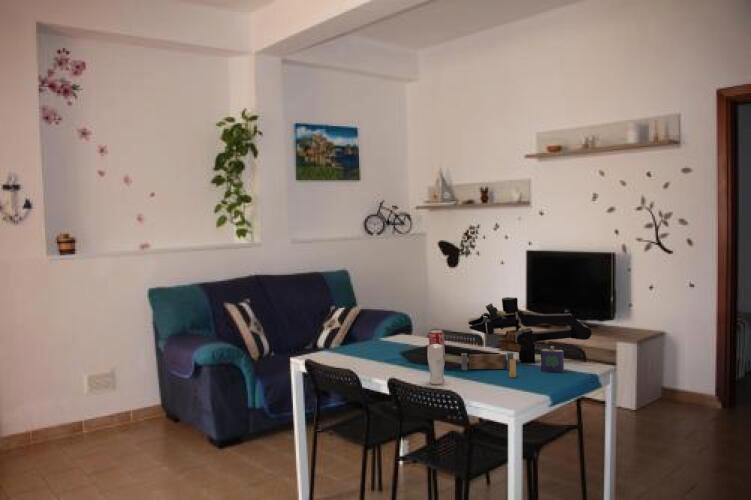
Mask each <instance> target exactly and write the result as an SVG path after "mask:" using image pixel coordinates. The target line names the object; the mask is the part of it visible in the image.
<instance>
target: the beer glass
mask: <svg viewBox="0 0 751 500" xmlns="http://www.w3.org/2000/svg"><path fill="white" fill-rule="evenodd" d="M444 346H445V344H444V345H441V344H431V345H429V344H428V345H427V354H426V355H427V363H428V369H429V383H430V384H431V385H434V386H435V385H443V384H445V377H444V367H445V363H446V355H445V352H446V351H444Z"/></svg>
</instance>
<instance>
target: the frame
mask: <svg viewBox="0 0 751 500" xmlns="http://www.w3.org/2000/svg"><path fill="white" fill-rule="evenodd" d="M460 354H461V356H460V357H461V359H460V360H461V361H460V362H461V370H462V371H468V370H469V369H468V368H469V366H468V353H467V352H465V353H464V352H462V353H460ZM506 354H507V369H506V370H509V372H508V373H509V378H517V363H516V362H517V360H516V358H515V359H514V353H513V352H506Z"/></svg>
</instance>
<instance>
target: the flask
mask: <svg viewBox="0 0 751 500" xmlns="http://www.w3.org/2000/svg"><path fill="white" fill-rule="evenodd" d="M564 355H565V354H564V350H562V349H555V346H553V345H551V346H550V348H544V349H541V350H540V371H541V372H543V373H564V371H565V362H564V360H565V357H564Z"/></svg>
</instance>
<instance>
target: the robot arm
mask: <svg viewBox="0 0 751 500" xmlns="http://www.w3.org/2000/svg"><path fill="white" fill-rule="evenodd" d="M518 302H519V301H518V297H509V296H507V297H503V298H501V305H502V306H501V307H502V311H503V312H504V313H505V314H503V315H502V314H501V313H498V312H499V311H498V308H497V307H495V306H494V305H493V303H489V304H488V305H485V309H486V310H487V311H488V312H483V313H482V314H481V315H480V316H479V317H478V318H476V319H473V320H471V321H468V322H467V323H468V325H469V329H470V330H473V331H476V332H479V333H481V334H485V335H489V336H490V335H493V334H494V333H495V330H499V329H500V330H504V329H510V328H514V330H516V331H517V333H516V334H515V338H516V340H517V342H518V344H519V345H521V347H520V350H518V351H517V352H518V360H519V362H520V364H525V363H529V364H531V363H537V360H536V344H535V343H537V342H543V341H545V342H546V341H555V340H562V339H563V340H564V339H573V340H582V341H585V340H589V339H590V338H591V337H592V330H591V328H590V327H588V325H586V324H584V323H581V322H579V321H578V319H577V318H575V316H574V315H573V314H572V313H569V312H568V313H545V314H544V313H536V312H533V311H532V312H531V311H523V310H521V309H520V308H519V305H518ZM516 315H517V316H516ZM517 317H518V318H517ZM520 324H521V325H522V326H524V327H527V328H522V326H521V325H520ZM541 324H550V325H551V324H569V326H570V327H567V328H559V329H550V330H540V331H534V330H532V328H531V327H534V326H538V325H541ZM518 330H519V331H518Z"/></svg>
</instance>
